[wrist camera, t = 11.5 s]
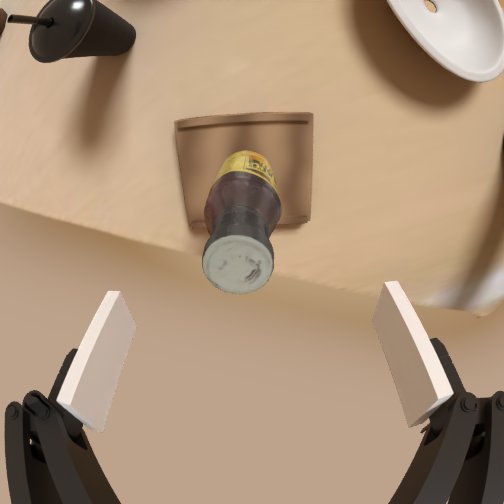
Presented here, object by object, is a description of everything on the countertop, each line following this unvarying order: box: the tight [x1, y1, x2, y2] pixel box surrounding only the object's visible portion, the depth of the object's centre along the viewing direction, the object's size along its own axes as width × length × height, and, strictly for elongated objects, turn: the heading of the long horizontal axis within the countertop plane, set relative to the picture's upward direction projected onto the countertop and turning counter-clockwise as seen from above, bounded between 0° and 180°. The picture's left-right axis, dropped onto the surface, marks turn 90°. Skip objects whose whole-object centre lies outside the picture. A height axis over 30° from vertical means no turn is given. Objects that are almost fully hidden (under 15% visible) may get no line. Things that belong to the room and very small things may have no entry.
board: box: [174, 112, 313, 229], centre depth 32 cm, size 16×14×3 cm
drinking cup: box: [7, 0, 136, 63], centre depth 15 cm, size 8×8×20 cm
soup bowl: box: [387, 0, 504, 82], centre depth 16 cm, size 24×24×7 cm
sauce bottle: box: [202, 151, 282, 294], centre depth 24 cm, size 7×6×20 cm
